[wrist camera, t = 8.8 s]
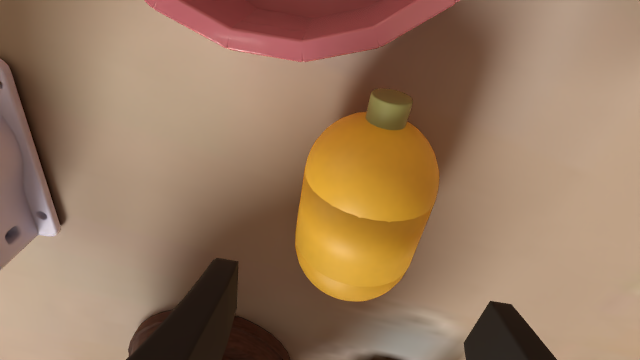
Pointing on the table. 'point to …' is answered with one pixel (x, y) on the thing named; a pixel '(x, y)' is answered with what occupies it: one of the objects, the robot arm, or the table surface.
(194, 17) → the pot
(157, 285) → the table surface
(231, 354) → the dark ball on stand
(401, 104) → the yellow rounded oblong piece
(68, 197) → the table surface
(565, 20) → the table surface
